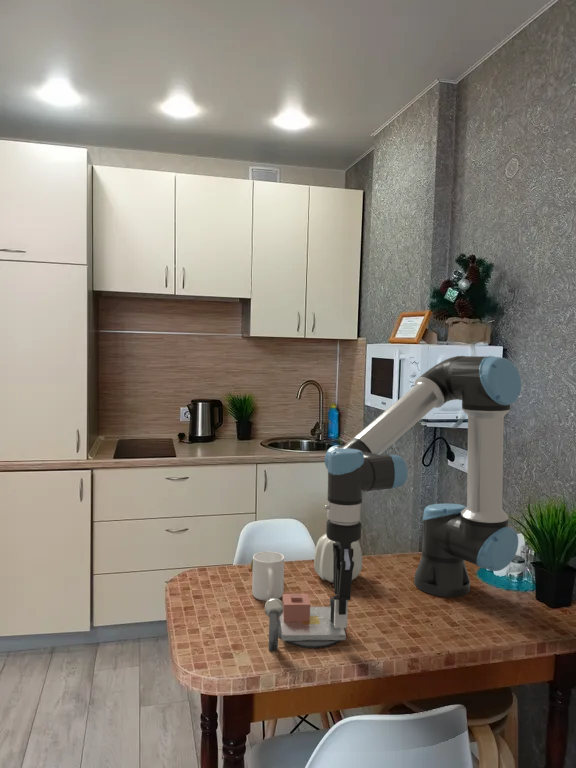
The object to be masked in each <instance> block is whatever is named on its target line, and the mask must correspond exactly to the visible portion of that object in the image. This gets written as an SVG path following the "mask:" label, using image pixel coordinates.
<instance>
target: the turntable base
mask: <svg viewBox="0 0 576 768" xmlns="http://www.w3.org/2000/svg"><path fill="white" fill-rule="evenodd" d="M344 631H345V632H346V628H344ZM278 639H280V640H281V641H282V635H281V627H280V619H279V623H278ZM341 641H342V640H301V641H283V642H285V643H286V644H288V645H291V646H295V647H298V648H303V649H324V648H325V649H326V648H329V647H333V646H335V645H337V644H339V643H340V642H341Z"/></svg>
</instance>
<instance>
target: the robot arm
mask: <svg viewBox="0 0 576 768" xmlns="http://www.w3.org/2000/svg"><path fill="white" fill-rule="evenodd" d="M514 364H515V363H513V362H512V360H510V359H508V358H506V357H499V356H493V355H490V356H489V355H486V356H478V355H477V356H476V355H475V356H473V355H471V356H470V355H469V356H468V355H465V356H464V355H460V356H459V355H457V356H452V357H449V358H446V359H444V360H442V361H440V362H438V364H435V365H434V366H431V368H430V369H428V370H426V371H425V372H424V373H423V374H421V375H420V376H418V378H417V379H415V381H414V386H413V387H412V388H411V389H409V391H407V392H406V393H405V394H404V395H402V396H401V397H400V398H398V400H396V401H395V402H394V403H393V404H391V406H390V407H388V408H387V409H386V410H384V411H383V413H380V415H379V416H377V418H375V419H374V420H373V421H371V422H370V423H368V425H367V426H366V427H365V428H363V429H362V430H361V431H360V432H359V433H357V434H356V435H355V436H354V437H353V438H351V439H350V440H349V441H348V442H346V443H345V444H335V445H333V446H331V447H329V448H328V449H327V451H326V453H325V455H324V466H325V468H326V469H327V504H326V505H324V510H325V511H326V510H327V512H326V516H327V517H326V518H327V519H328V520H326V529H325V530H326V532H325V534H326V536H327V538H328V539H330V540H332V541H335V543H333V545H332V546H333V583H332V587H333V589H334V592H333V593H334V595H333V599H334V600H335V605H334V627H335V628H345V629H347V628H348V613H349V612H348V611H349V610H348V609H349V601H351V598H352V597H351V594H352V585H353V584H352V583H353V580H352V573H353V567H354V561H352V557H353V548H351V543H352V542H356V541H358V542H359V540H360V539H361V538H362V523H361V522H360V521H361V520H362V517H363V515H362V514H363V494H364V493H365V492H371V491H381V490H392V489H396V488H401V487H402V486H403V485H405V483H406V482H407V480H408V473H409V472H408V471H409V469H408V464H407V463H406V461H405V459H404V458H403V457H401V456H400V455H398V454H385V455H383V453H384V452H385V451H386V450H387V449H388V448H390V447H391V446H392V445H393V444H394V443H395V442H396V441H398V439H400V437H402V436H403V435H405V433H407V432H408V431H409V430H410V429H411V428H412V427H413V426H415V425H416V424H417V423H418V422H420V420H421V419H422V418H424V417H425V416H427V414H428V413H429V412H430V411H432V410H433V409H434V408H435V409H439V408H441V407H442V406H444V405H445V404H446V403H447V402H450V401H453V400H454V401H456V400H459V401H461V410H462V411H463V412H464V413H465V414H466V416H467V472H466V473H467V476H466V477H467V479H466V480H467V481H466V485H467V487H466V491H467V492H466V494H467V495H466V505H464V504H459V503H434V504H428V505H427V506H425V508H424V509H423V517H422V527H421V529H422V531H421V532H422V533H421V536H422V537H421V557H420V561H419V563H418V564H417V568H416V571H415V573H414V578H413V580H414V582H413V584H414V585H415V587H416V588H417V589H418V590H420V591H421V592H424V593H426V594H429V595H433V596H436V597H443V598H459V597H464V596H467V595H468V594H469V593H470V591H471V579H470V576H469V573H468V569H467V566H466V562H468V563H471V564H473V565H475V566H477V567H479V568H480V569H486V570H488V571H491V572H499V571H502V570H504V569H505V568H507V567H508V566H509V565H510V564H511V563H512V561H513V560H514V558H515V556H516V554H517V551H518V548H519V536H518V533H516V531H515V530H514V529H513V528H511V527H509V515H508V514H507V513H506V512H505V510H504V509H503V486H504V485H503V484H504V483H503V480H504V479H503V478H504V470H503V468H504V427H505V426H504V425H505V424H504V421H505V420H504V419H505V416H507V414H508V413H509V412H510V411H511V405H512V404H514V403H516V401H517V400H518V399H519V395H521V391H522V378H521V374H520V371H519V370H518V368H517V366H516V365H514Z"/></svg>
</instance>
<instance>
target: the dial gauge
mask: <svg viewBox="0 0 576 768" xmlns="http://www.w3.org/2000/svg"><path fill="white" fill-rule="evenodd" d="M264 611H265V614H266V616H267V617H269V618H268V620H269V623H268V625H269V626H268V650H269V651H270V652H277V651H278V650H279V637H278V623H279V616H281V614H282V613H283V604H282V600H281V599H280V598H279V599H277V598H271V599H269V600H268V601H265V604H264Z"/></svg>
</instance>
